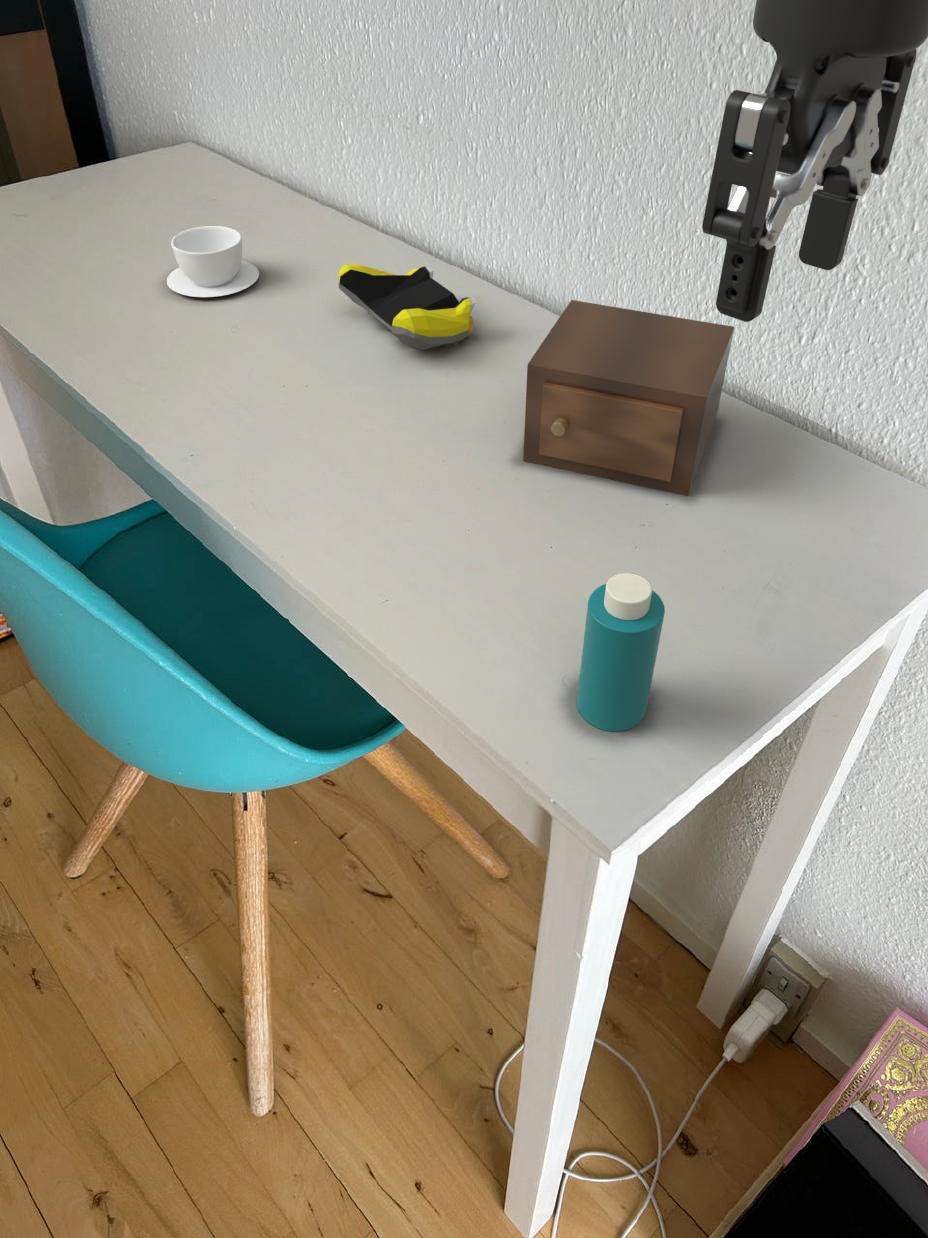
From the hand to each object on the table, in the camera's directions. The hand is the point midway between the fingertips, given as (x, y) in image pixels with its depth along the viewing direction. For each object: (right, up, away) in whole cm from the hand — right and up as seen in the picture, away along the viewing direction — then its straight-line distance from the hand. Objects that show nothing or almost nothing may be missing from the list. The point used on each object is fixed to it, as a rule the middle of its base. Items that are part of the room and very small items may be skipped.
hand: (779, 288), depth 51 cm
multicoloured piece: (-22, +12, +48) cm, 54 cm away
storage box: (-3, -2, +33) cm, 33 cm away
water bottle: (-7, -23, +11) cm, 26 cm away
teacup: (-44, +20, +57) cm, 74 cm away
